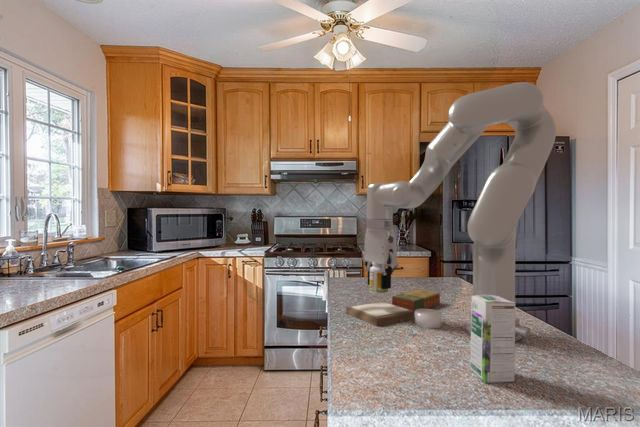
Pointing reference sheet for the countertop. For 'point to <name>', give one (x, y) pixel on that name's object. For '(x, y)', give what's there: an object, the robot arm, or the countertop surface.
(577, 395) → the countertop surface
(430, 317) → the white glossy dome
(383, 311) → the tray
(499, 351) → the syrup box
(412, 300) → the carton
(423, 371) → the countertop surface
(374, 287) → the supplement bottle
